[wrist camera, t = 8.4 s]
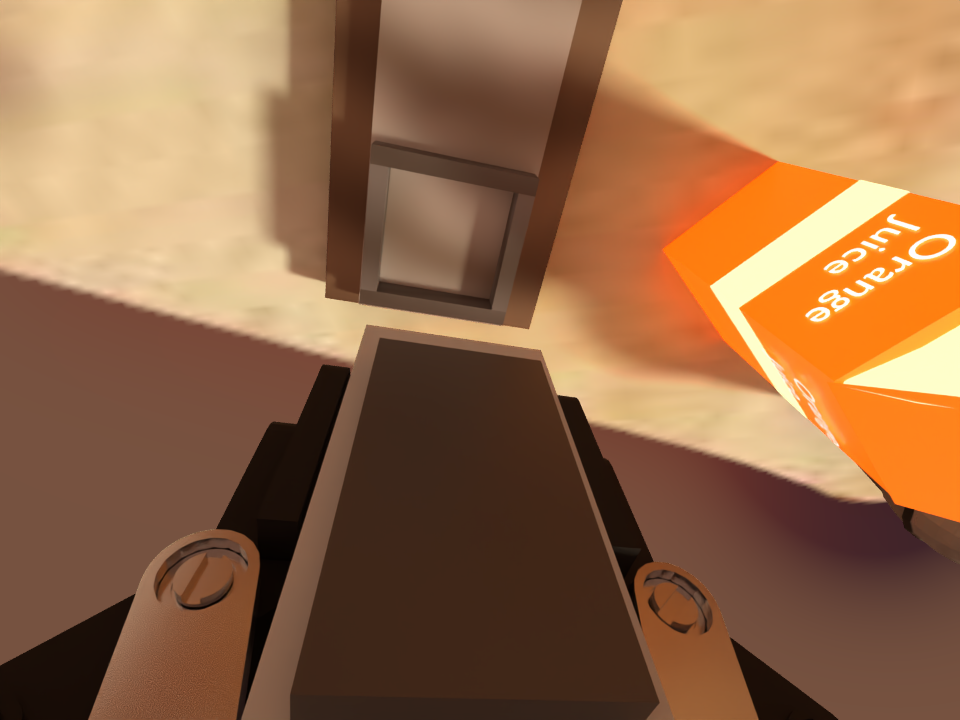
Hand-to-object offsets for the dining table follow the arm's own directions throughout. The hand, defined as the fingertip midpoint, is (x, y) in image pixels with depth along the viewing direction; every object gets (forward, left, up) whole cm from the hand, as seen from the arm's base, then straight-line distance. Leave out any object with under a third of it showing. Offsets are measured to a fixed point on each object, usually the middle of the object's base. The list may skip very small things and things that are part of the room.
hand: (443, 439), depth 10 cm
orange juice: (-1, +19, -19) cm, 27 cm away
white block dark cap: (0, 0, -1) cm, 1 cm away
